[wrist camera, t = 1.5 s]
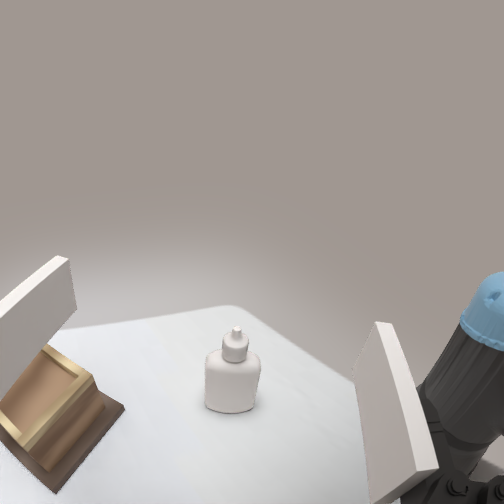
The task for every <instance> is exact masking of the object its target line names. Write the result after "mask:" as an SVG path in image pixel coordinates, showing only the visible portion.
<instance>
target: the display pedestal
mask: <svg viewBox="0 0 504 504" xmlns="http://www.w3.org/2000/svg"><path fill="white" fill-rule="evenodd" d="M124 410H125V409H124V406H123V405H122V404H121V403H119V402H117V401H116V400H114V399H112V398H110V397H109V396H107V395H105V394H104V393H102V392H101V391H99V390H98V388H97V386H96V383H95V381H94V378H93V375H92V374H91V373H89V372H88V371H86V370H84V369H83V368H81V367H80V366H78V365H77V364H75V363H74V362H72V361H71V360H69V359H68V358H66V357H65V356H64V355H62V354H61V353H59V352H58V351H57V350H55V349H54V348H52V347H51V346H50V345H48V344H46V345H45V346H44V347H43V348H42V349H41V351H40V352H39V353H38V354H37V355H36V357H35V358H34V359H33V360H32V362H31V363H30V364H29V365H28V366H27V368H26V369H25V370H24V371H23V373H22V374H21V375H20V376H19V378H18V379H17V380H16V382H15V383H14V384H13V385H12V387H11V388H10V389H9V391H8V392H7V393H6V395H5V396H4V397H3V399H2V400H1V401H0V440H1V441H2V442H3V444H4V445H5V446H6V447H7V448H8V449H9V450H10V451H11V452H12V453H13V454H14V456H15V457H16V458H17V459H18V460H19V461H20V462H21V463H22V464H23V465H24V466H25V467H26V468H27V469H28V470H29V471H30V472H31V473H33V474H34V475H35V476H36V477H37V478H38V479H39V480H40V481H41V482H42V483H43V484H45V485H46V486H47V487H48V488H49V489H50V490H51V491H53V492H54V493H55V494H56V493H57V492H58V491H59V490H60V488H61V487H62V486H63V485H64V484H65V482H66V481H67V480H68V479H69V477H70V476H71V475H72V474H73V473H74V471H75V470H76V469H77V468H78V466H79V465H80V464H81V463H82V461H83V460H84V459H85V458H86V457H87V455H88V454H89V453H90V452H91V450H92V449H93V448H94V447H95V446H96V444H97V443H98V442H99V441H100V439H101V438H102V437H103V436H104V435H105V433H106V432H107V431H108V430H109V428H110V427H111V426H112V425H113V424H114V422H115V421H116V420H117V419H118V417H119V416H120V415H121V414H122V413H123V411H124Z"/></svg>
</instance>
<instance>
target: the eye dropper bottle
mask: <svg viewBox="0 0 504 504" xmlns="http://www.w3.org/2000/svg"><path fill="white" fill-rule="evenodd" d="M248 344H249V339H248V337H247V336H246V335H245V334H243V333H241V328H240V327H239V326H235V327H234V328H233V330H232V332H229V333H227V334H225V335H224V337H223V344H222V349H219V350H216V351H213V352H211V353H209V354H208V355H207V357H206V363H205V405H206V407H208V408H209V409H212V410H214V411H218V412H222V413H240V412H244V411H248V410H250V409H251V408H252V407H253V405H254V401H255V396H256V392H257V387H258V382H259V377H260V372H261V364H260V359H259V357H258V356H257V355H256V354H254V353H252V352H249V351H247V350H248Z"/></svg>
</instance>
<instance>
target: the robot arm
mask: <svg viewBox="0 0 504 504" xmlns="http://www.w3.org/2000/svg"><path fill="white" fill-rule="evenodd" d="M70 271H71V270H70V264H69V259H68V258H64V257H60V256H55V257H54V258H53V259H52V260H50V261H49V262H48V263H46V264H45V265H44V266H42V267H41V268H40V269H39V270H37V271H36V272H35V273H34V274H32V275H31V276H30V277H29V278H27V279H26V280H25V281H24V282H22V283H21V284H20V285H19V286H18V287H16V288H15V289H14V290H13V291H12V292H10V293H9V294H8V295H7V296H6V297H5V298H3V299H2V300H1V301H0V401H1V400H2V399H3V397H4V396H5V395H6V393H7V392H8V391H9V389H10V388H11V387H12V385H13V384H14V383H15V382H16V380H17V379H18V378H19V376H20V375H21V374H22V373H23V371H24V370H25V369H26V368H27V366H28V365H29V364H30V363H31V362H32V360H33V359H34V358H35V357H36V355H37V354H38V353H39V352H40V351H41V349H42V348H43V347H44V346H45V345H46V344H47V342H48V341H49V340H50V339H51V338H52V337H53V335H54V334H55V333H56V332H57V331H58V330H59V329H60V328H61V326H62V325H63V324H64V323H65V322H66V321H67V320H68V318H69V317H70V316H71V315H72V314H73V313H74V312H75V311H76V310H77V306H76V300H75V295H74V289H73V283H72V277H71V272H70ZM352 371H353V376H354V382H355V388H356V394H357V400H358V406H359V413H360V419H361V426H362V434H363V441H364V449H365V457H366V466H367V475H368V485H369V496H370V504H390V503H392V502H394V501H395V500H397V499H398V498H400V501H401V504H504V476H496V477H494V478H493V479H492V480H490V481H489V482H488V483H483V482H474V481H470V480H469V478H468V477H469V476H470V475H471V474H472V472H473V471H474V469H475V467H476V465H477V463H478V461H479V460H480V459H481V457H482V456H483V455H484V453H485V452H486V450H487V448H488V447H489V445H490V444H491V443H492V442H493V441H494V440H496V438H498V437H499V436H500V435H503V436H504V272H499V273H495V274H492V275H490V276H489V277H487V278H486V279H485V280H484V281H483V282H482V283H481V284H480V286H479V287H478V289H477V291H476V293H475V295H474V297H473V299H472V300H471V302H470V304H469V306H468V307H467V308H466V309H465V310H464V311H463V312H462V314H461V317H460V323H459V325H458V326H457V328H456V330H455V332H454V334H453V335H452V337H451V339H450V341H449V342H448V344H447V346H446V347H445V349H444V351H443V353H442V354H441V356H440V357H439V359H438V360H437V362H436V363H435V365H434V367H433V368H432V370H431V371H430V373H429V374H428V376H427V377H426V378H425V380H424V382H423V383H422V384H420V385H419V386H418V387H415V384H414V382H413V379H412V376H411V373H410V370H409V367H408V365H407V362H406V360H405V357H404V354H403V351H402V349H401V346H400V343H399V341H398V338H397V336H396V333H395V331H394V328H393V326H392V324H391V323H383V322H375V323H374V325H373V328H372V330H371V332H370V334H369V336H368V338H367V341H366V342H365V345H364V347H363V349H362V351H361V353H360V355H359V357H358V359H357V361H356V363H355V365H354V367H353V369H352Z"/></svg>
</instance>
